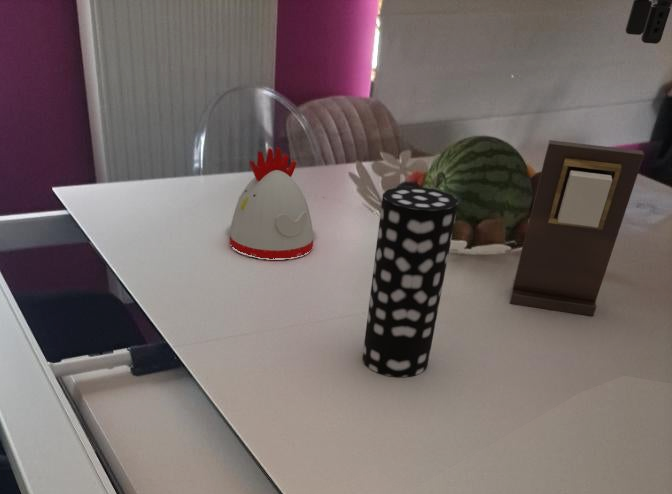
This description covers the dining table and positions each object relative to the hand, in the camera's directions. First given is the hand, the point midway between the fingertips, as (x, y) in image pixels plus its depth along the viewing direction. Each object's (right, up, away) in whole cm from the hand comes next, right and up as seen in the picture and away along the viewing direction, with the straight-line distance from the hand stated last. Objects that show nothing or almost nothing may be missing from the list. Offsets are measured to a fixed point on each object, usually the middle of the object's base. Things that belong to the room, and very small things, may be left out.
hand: (641, 38), depth 96 cm
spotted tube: (-32, -42, -1) cm, 53 cm away
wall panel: (-6, -30, +15) cm, 34 cm away
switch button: (-7, -22, +4) cm, 24 cm away
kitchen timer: (-49, -17, +28) cm, 59 cm away
